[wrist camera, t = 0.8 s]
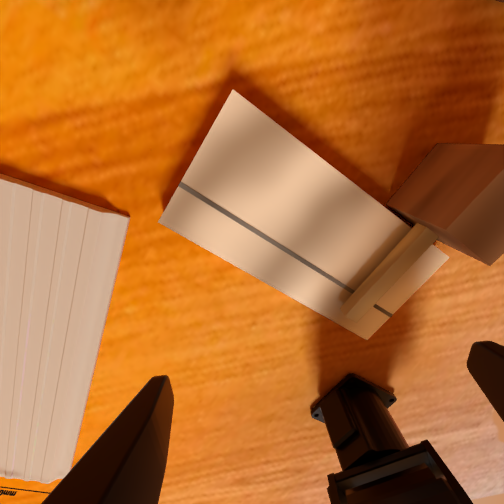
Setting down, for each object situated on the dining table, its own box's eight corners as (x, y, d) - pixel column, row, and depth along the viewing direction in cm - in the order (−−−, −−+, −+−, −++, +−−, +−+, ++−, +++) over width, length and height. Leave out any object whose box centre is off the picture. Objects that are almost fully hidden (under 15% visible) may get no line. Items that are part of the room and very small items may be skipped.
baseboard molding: (153, 221, 19) (-35, 157, 17) (141, 234, 17) (-84, 161, 14) (86, 471, 30) (-37, 454, 28) (71, 504, 27) (-65, 487, 25)
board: (434, 249, 21) (450, 257, 20) (358, 328, 24) (367, 340, 22) (232, 93, 16) (232, 88, 15) (163, 215, 19) (157, 222, 17)
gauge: (472, 176, 19) (569, 191, 14) (352, 306, 23) (390, 359, 17) (437, 143, 18) (526, 145, 13) (317, 285, 22) (345, 334, 16)
